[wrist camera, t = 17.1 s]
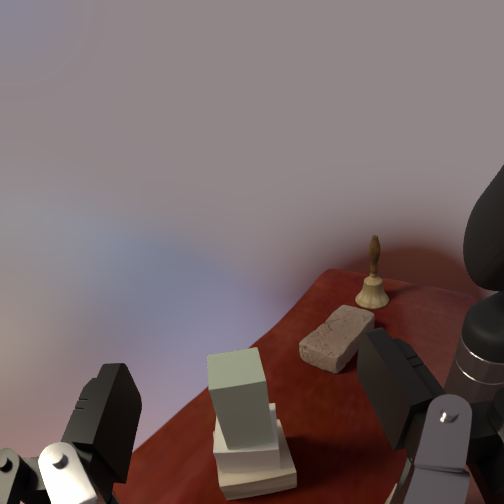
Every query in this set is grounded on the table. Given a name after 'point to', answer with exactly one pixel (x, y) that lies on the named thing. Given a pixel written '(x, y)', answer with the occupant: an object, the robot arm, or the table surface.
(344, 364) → the brick
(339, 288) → the table surface
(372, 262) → the hand bell
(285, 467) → the tower base
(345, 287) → the table surface
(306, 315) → the table surface
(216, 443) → the tower top
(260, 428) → the sage pillar
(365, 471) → the table surface
